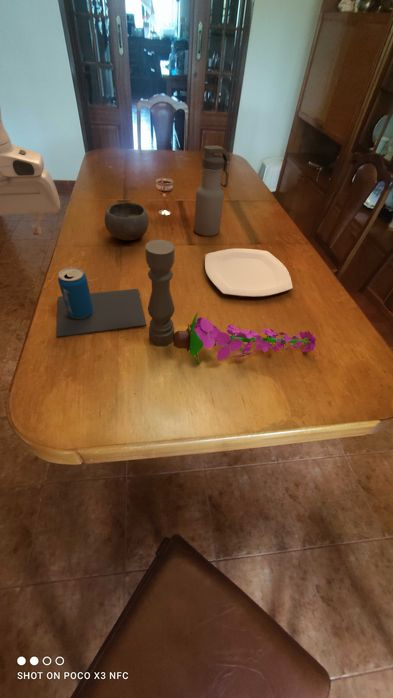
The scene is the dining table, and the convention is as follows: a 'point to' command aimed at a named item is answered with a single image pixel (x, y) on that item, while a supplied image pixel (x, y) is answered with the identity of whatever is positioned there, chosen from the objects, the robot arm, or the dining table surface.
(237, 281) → the plate
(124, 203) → the bowl
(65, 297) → the beverage can
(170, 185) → the wineglass
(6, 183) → the robot arm
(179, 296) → the dining table surface
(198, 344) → the potted plant
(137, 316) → the mat
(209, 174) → the water bottle
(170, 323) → the candle holder
